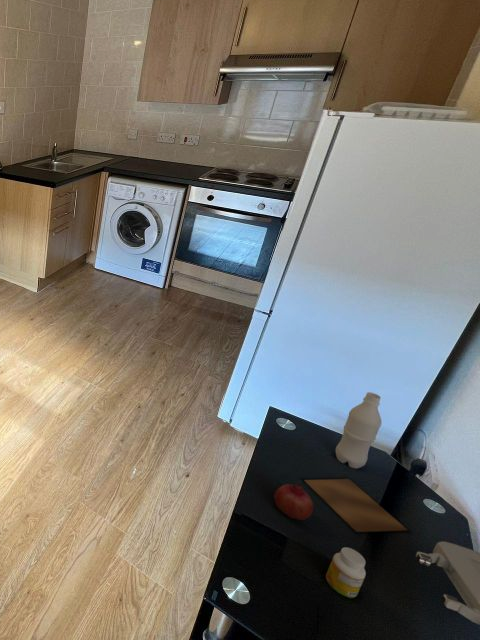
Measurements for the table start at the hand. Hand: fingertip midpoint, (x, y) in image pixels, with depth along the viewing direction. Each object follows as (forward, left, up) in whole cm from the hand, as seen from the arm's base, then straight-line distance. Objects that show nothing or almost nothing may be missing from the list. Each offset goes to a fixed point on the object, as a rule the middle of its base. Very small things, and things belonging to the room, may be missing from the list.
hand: (430, 577), depth 83 cm
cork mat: (+26, -12, -11) cm, 31 cm away
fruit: (+24, +7, -11) cm, 28 cm away
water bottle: (+41, -26, -11) cm, 50 cm away
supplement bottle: (+6, +11, -11) cm, 17 cm away
